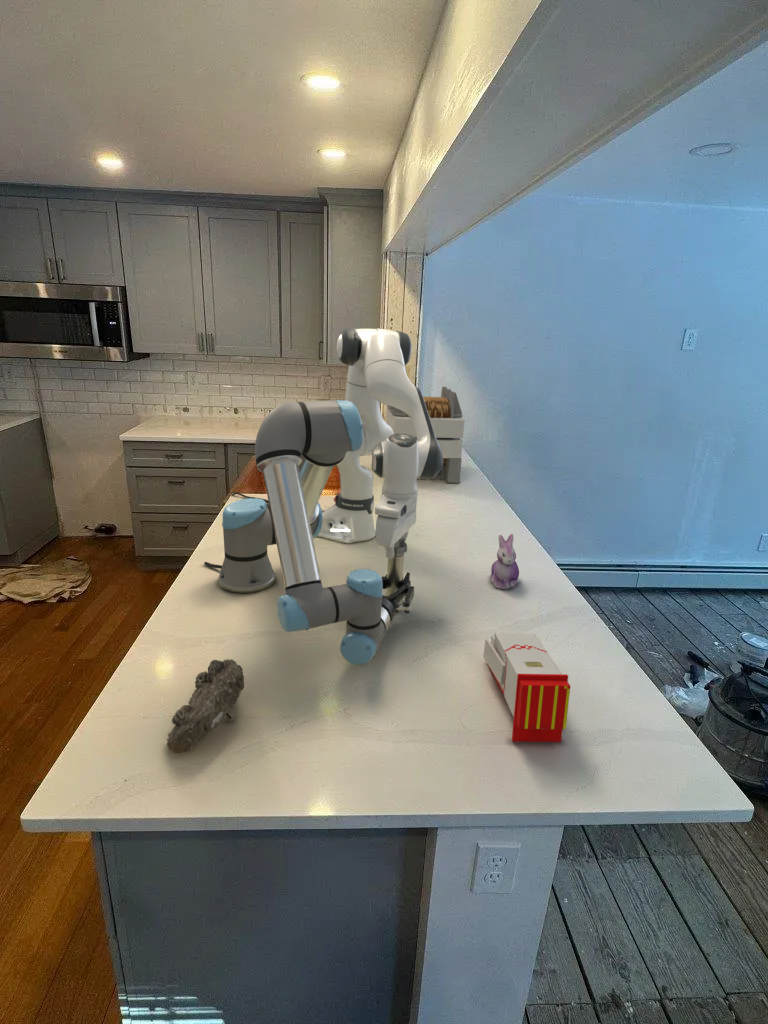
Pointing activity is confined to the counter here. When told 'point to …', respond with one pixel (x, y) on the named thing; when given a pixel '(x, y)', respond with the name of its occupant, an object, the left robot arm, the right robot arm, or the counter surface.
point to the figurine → (505, 565)
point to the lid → (400, 547)
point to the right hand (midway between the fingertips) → (396, 551)
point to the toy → (529, 686)
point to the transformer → (437, 429)
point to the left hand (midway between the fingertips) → (399, 575)
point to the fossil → (206, 705)
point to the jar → (394, 574)
